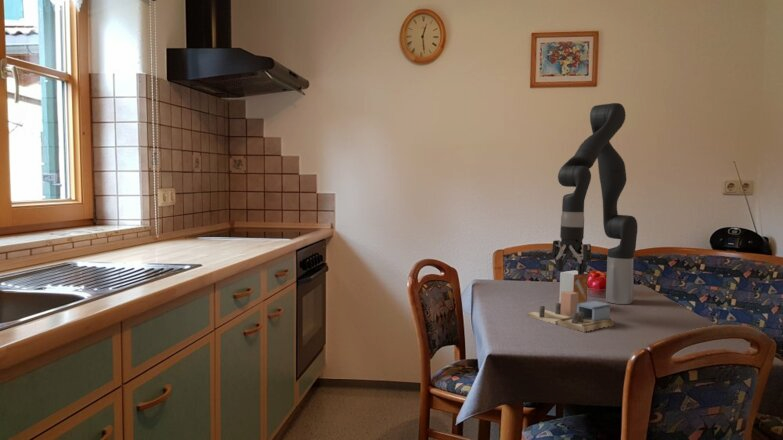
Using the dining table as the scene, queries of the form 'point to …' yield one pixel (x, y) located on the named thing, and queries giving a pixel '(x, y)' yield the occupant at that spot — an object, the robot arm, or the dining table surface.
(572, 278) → the small box
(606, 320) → the base
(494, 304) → the dining table surface
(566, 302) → the block
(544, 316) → the pin seat
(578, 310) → the cover
